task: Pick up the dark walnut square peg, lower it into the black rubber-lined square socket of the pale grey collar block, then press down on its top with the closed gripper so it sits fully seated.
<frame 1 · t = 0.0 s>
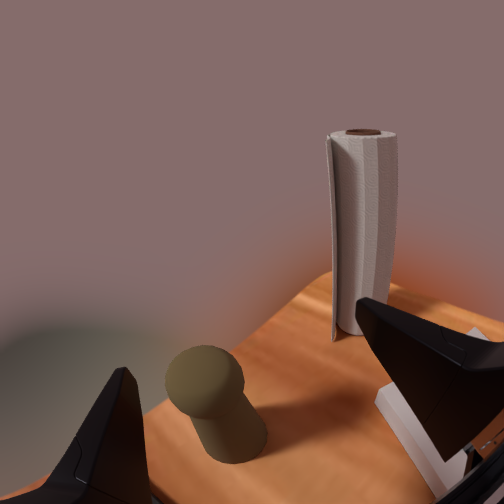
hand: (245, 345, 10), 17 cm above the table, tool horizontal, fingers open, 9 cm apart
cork: (234, 436, 21), on the table
collar block: (465, 415, 16), on the table
paper towel roll: (355, 321, 31), on the table
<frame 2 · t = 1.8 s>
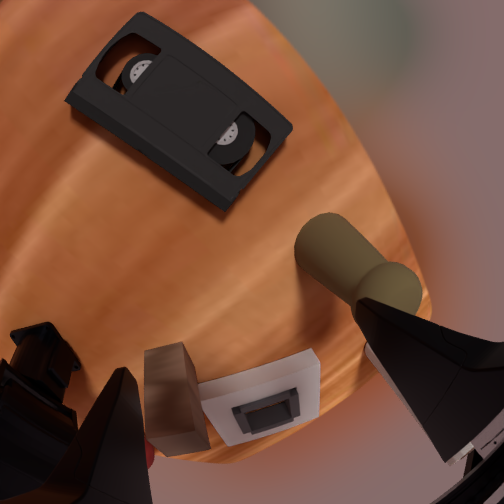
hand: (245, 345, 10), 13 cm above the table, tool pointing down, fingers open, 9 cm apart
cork: (323, 243, 25), on the table
vhs tape: (178, 107, 18), on the table
onion: (132, 429, 30), on the table
walnut peg: (170, 359, 26), on the table
collar block: (262, 398, 33), on the table
paper towel roll: (381, 335, 35), on the table
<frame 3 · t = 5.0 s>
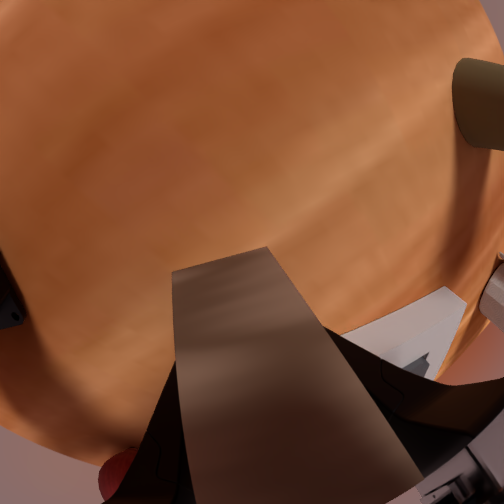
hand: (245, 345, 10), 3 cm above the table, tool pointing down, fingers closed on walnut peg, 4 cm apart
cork: (473, 102, 11), on the table
onion: (133, 447, 17), on the table
walnut peg: (229, 298, 12), on the table, touching gripper
collar block: (360, 383, 19), on the table
paper towel roll: (493, 280, 21), on the table
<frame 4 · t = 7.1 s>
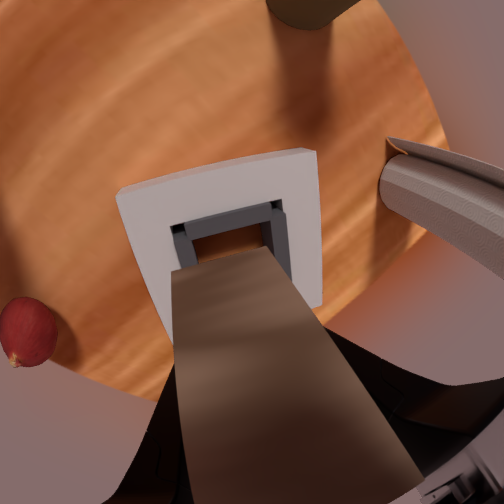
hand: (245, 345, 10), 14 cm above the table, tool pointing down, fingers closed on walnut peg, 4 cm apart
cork: (299, 1, 15), on the table
onion: (40, 304, 20), on the table
walnut peg: (228, 297, 12), point 11 cm above the table, touching gripper
collar block: (229, 247, 23), on the table
paper towel roll: (398, 176, 25), on the table
when the fingers open (4 cm above the table, at t = 9.3 s): walnut peg drops 2 cm, resting in collar block.
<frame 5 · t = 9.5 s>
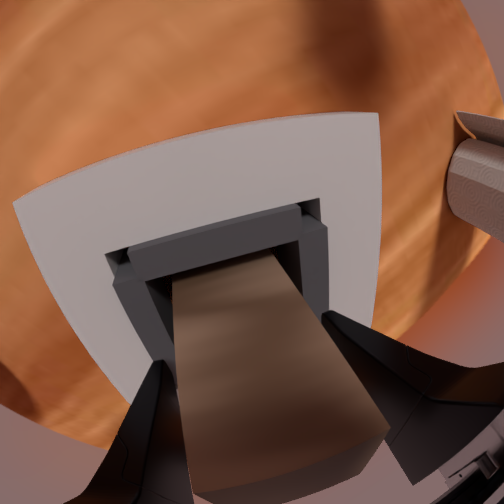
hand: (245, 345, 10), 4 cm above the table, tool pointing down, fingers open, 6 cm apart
walnut peg: (223, 280, 13), resting in collar block
collar block: (224, 281, 13), on the table
paper towel roll: (465, 169, 15), on the table
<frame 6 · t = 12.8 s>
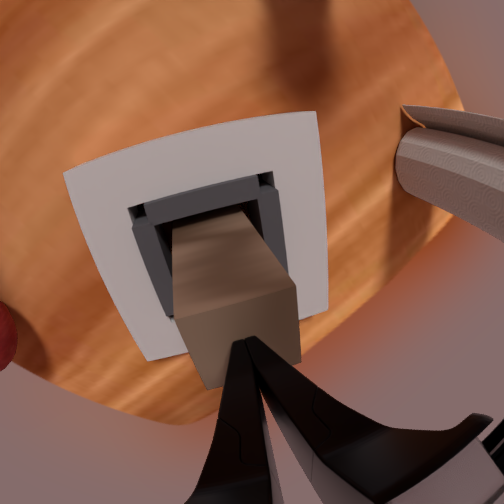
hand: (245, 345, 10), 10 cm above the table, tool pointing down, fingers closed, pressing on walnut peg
onion: (4, 304, 16), on the table
walnut peg: (210, 236, 18), resting in collar block, touching gripper
collar block: (210, 237, 18), on the table
paper towel roll: (416, 154, 20), on the table
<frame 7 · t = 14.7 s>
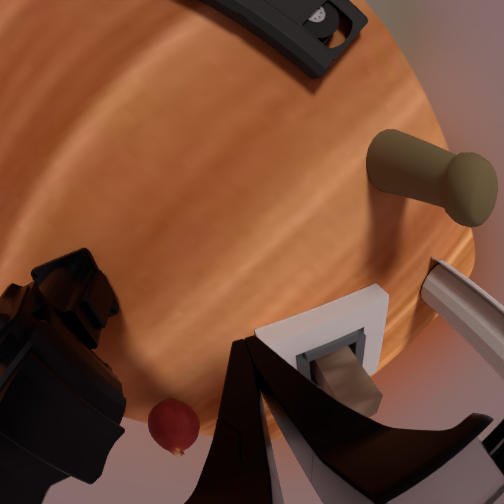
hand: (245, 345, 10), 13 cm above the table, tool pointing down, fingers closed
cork: (389, 160, 22), on the table
onion: (171, 398, 29), on the table
walnut peg: (322, 348, 31), resting in collar block
collar block: (322, 349, 31), on the table
paper towel roll: (435, 277, 32), on the table
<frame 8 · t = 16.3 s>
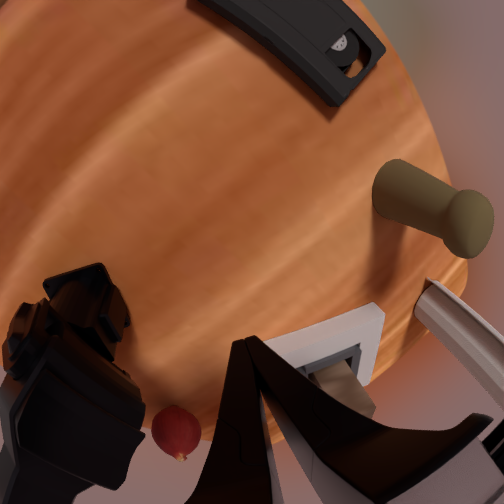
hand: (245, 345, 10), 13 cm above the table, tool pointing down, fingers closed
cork: (393, 188, 24), on the table
vhs tape: (290, 19, 16), on the table
onion: (173, 405, 30), on the table
walnut peg: (319, 361, 32), resting in collar block
collar block: (319, 361, 32), on the table
paper towel roll: (428, 295, 34), on the table
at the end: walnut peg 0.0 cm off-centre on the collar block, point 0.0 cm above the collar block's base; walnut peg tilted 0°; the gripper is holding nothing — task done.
